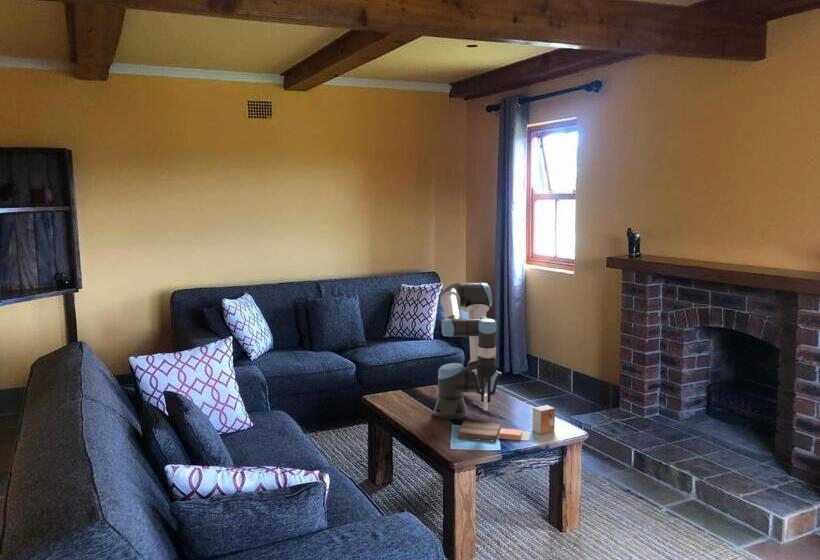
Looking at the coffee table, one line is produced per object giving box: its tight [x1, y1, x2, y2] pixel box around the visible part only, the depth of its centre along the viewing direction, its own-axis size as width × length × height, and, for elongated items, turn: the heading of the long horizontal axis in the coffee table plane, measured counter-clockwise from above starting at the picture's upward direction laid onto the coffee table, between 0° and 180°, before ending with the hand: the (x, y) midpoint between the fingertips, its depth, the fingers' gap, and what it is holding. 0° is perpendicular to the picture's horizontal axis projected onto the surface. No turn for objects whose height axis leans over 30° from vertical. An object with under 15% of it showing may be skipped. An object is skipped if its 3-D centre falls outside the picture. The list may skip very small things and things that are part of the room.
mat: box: [497, 429, 532, 442], centre depth 281 cm, size 10×13×1 cm
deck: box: [457, 420, 502, 442], centre depth 283 cm, size 14×16×2 cm
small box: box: [531, 404, 556, 435], centre depth 285 cm, size 8×6×10 cm
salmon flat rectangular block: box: [498, 427, 523, 441], centre depth 279 cm, size 9×6×2 cm, turn 74°
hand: (485, 409), depth 282 cm, fingers closed
